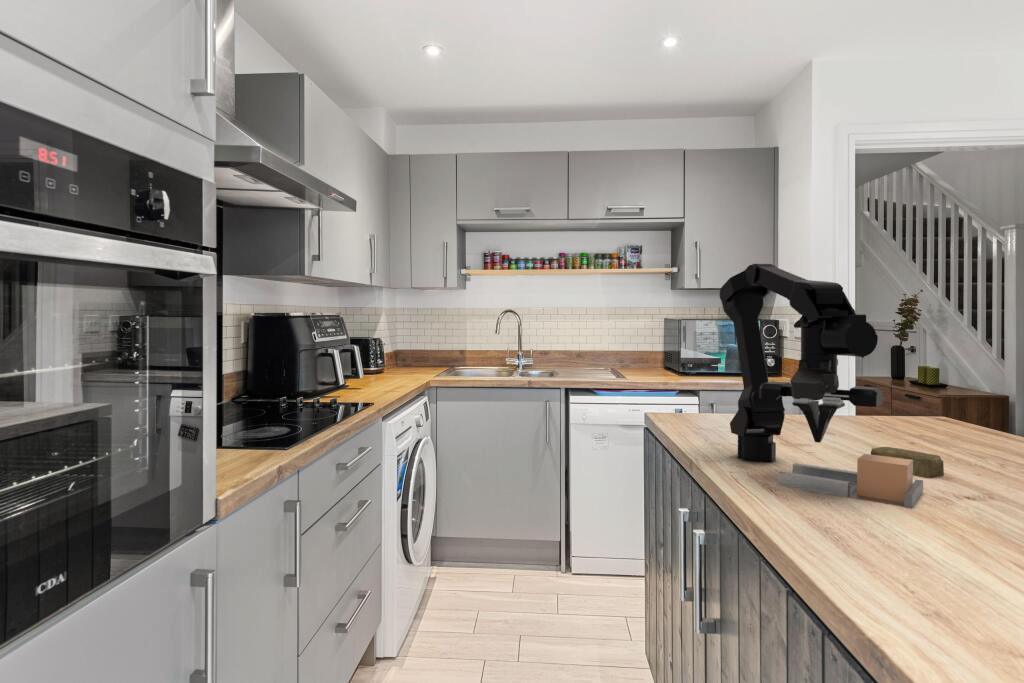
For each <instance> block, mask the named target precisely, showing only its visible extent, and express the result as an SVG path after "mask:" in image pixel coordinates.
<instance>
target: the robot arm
mask: <svg viewBox="0 0 1024 683" xmlns="http://www.w3.org/2000/svg"><path fill="white" fill-rule="evenodd" d="M843 290H844V287H843V286H842V285H841V284H839V283H838V282H833V281H832V282H831V281H825V280H823V281H821V280H810V279H806V278H804V277H801V276H798V275H796V274H793V273H791V272H789V271H786V270H784V269H781V268H779V267H777V266H776V265H774V264H772V263H752V264H749V265H748V266H747V267H746V268H745V269H744V270H742V271H741V272H739V273H737V274H735V275H732V276H731V277H730V278H728V280H727V281H726V282H725V283H724V284H723V285H722V286H721V288H720V290H719V299H720V301H721V305H722V308H723V312H724V313H725V314H726V316H727V317H728V318H729V319H730V321H732V322H733V327H734V334H735V340H736V341H735V342H736V346H737V352H738V353H737V354H738V358H739V366H740V371H741V378H742V385H743V389H742V392H741V393H740V395H739V398H738V400H737V409H738V410H737V411H736V413H735V415H734V416H733V418H732V419H731V420H730V423H729V427H730V432H731V434H734V435H737V459H740V460H742V461H746V462H750V463H769V464H772V463H774V462H776V461H777V460H776V458H777V457H776V455H777V453H776V450H777V445H776V444H777V443H776V442H775V441H774V436H781V433H782V430H783V429H782V428H783V424H784V421H785V417H786V416H785V411H786V409H785V407H784V403H783V397H792V398H793V402H792V406H793V407H798V408H799V410H801V412H802V414H803V416H804V417H805V419H806V421H807V424H808V427H809V429H810V433H811V435H812V437H813V441H814V442H815V443H821V442H822V441H823V440H824V436H825V434H826V432H827V429H828V427H829V425H830V422H831V420H832V418H833V416H834V415H835V413H836V412H837V410H838V409H841V408H843V407H845V405H846V403H845V402H844V401H849V402H850V403H851V404H852V405H853V406H854V407H855V406H856V407H867V408H874V407H875V408H877V407H879V406H881V405H883V401H884V398H883V397H884V396H883V395H884V393H883V390H882V389H881V388H880V387H877V386H859V385H858V386H853V387H850V388H849V389H840V387H839V386H840V383H839V382H840V381H839V376H838V366H839V359H838V356H844V357H846V356H847V357H855V358H856V357H858V358H859V357H860V358H863V357H867V356H869V355H871V354H872V353H873V352H874V351H875V349H876V348H877V345H878V341H879V340H878V338H879V337H878V334H877V331H876V330H875V328H874V327H873V326H872V324H870V323H869V322H867V315H866V314H857V313H856V310H855V309H854V308H853V306H852V305H851V302H850V300H849V299H848V297H847V295H846V293H845V291H843ZM771 292H773V293H774V294H777V295H779V296H781V297H783V298H785V299H787V300H788V301H789V306H790V307H791V308H792V309H793V310H794V311H796V313H798V314H799V315H801V317H800V318H799V319H798V320H796V321H795V323H794V324H793V327H794V328H795V329H800V359H798V360H799V361H798V368H797V371H796V372H795V373H794V374H793V375H792V377H791V379H790V381H789V382H787V381H769V376H768V371H767V365H766V360H765V353H764V352H765V351H764V347H763V341H762V340H763V339H762V334H761V328H760V324H759V323H760V322H759V317H760V315H761V313H762V312H761V311H762V310H763V308H764V305H765V304H764V303H765V302H764V299H765V298H766V297H767V296H768V295H769V294H770V293H771ZM820 400H822V403H821V404H820V403H819V401H820Z"/></svg>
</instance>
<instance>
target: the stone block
mask: <svg viewBox="0 0 1024 683" xmlns="http://www.w3.org/2000/svg"><path fill="white" fill-rule="evenodd" d="M870 455H878V456H886V457H894V458H902V459H910V460H913V476H914V477H919V478H925V479H933V478H938V477H942V478H943V477H944V475H945V472H944V471H945V468H944V461H943V459H942V457H941V456H940V455H937V454H931V453H926V452H922V451H916V450H912V449H905V448H899V447H898V448H897V447H891V446H880V447H874V448H871V451H870Z"/></svg>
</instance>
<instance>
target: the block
mask: <svg viewBox="0 0 1024 683" xmlns="http://www.w3.org/2000/svg"><path fill="white" fill-rule="evenodd" d="M856 462H857V464H856V465H857V468H856V470H857V471H856V472H857V495H862V496H868V497H874V498H879V499H885V500H891V501H897V502H903V503H904V495H905V493H906V491H907V490H908V489H909V488H910V486H911V485H912V484H913V483H914V481H913V480H914V479H913V476H914V475H913V460H910V459H902V458H894V457H886V456H878V455H871V453H870V454H869V453H863V454H862V455H861V456H859V457H858V458H857V460H856Z"/></svg>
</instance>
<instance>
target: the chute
mask: <svg viewBox="0 0 1024 683" xmlns="http://www.w3.org/2000/svg"><path fill="white" fill-rule="evenodd" d="M777 474H778V475H777V476H778V477H777V478H778V479H777V480H778V481H777V484H776V486H781V487H784V488H785V487H786V488H790V489H798V490H803V491H808V492H815V493H820V494H821V493H822V494H825V495H832V496H837V497H838V496H839V497H844V498H849V499H856V500H859V501H860V500H862V501H868V502H873V503H879V504H885V505H891V506H897V507H901V508H908V509H913V508H914V506H915V505H916V503H917V502H918V500H919V499H920V497H921V496H922V495H923V493H924V480H923V479H915V480H914V481H913V484H912V485H911V486H910V488H909V489H908V490H907V491H906V493H905V495H904V503H903V502H897V501H891V500H885V499H879V498H874V497H868V496H862V495H857V471H853V470H847V469H838V468H831V467H825V466H818V465H811V464H805V463H796V462H795V463H793V464H792V472H788V471H783V470H781V471H779V472H777Z"/></svg>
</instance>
